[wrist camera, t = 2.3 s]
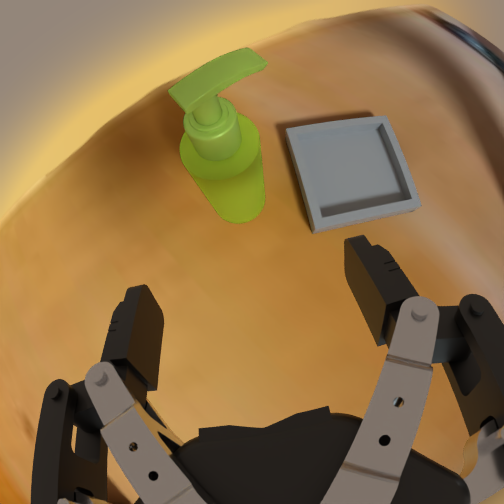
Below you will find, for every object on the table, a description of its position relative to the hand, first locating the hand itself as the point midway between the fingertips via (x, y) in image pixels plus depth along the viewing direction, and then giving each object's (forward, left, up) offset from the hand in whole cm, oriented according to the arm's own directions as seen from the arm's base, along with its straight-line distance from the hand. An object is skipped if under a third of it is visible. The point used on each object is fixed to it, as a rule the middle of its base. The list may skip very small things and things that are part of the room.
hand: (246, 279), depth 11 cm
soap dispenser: (0, -10, -20) cm, 23 cm away
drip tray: (-13, -10, -20) cm, 26 cm away
